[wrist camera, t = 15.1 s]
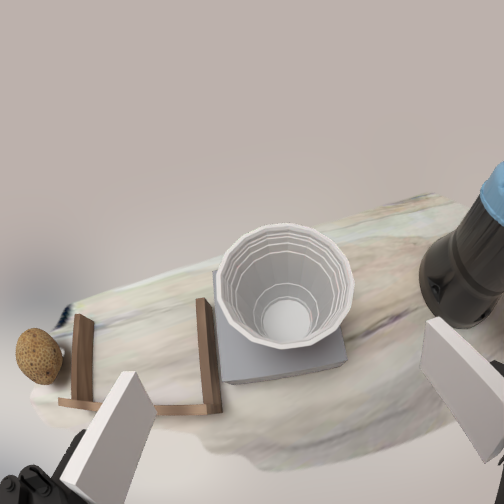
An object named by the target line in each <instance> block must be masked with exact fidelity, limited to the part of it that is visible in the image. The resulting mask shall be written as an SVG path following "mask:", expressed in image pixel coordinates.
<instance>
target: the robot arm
mask: <svg viewBox="0 0 504 504" xmlns="http://www.w3.org/2000/svg"><path fill="white" fill-rule="evenodd" d="M419 281H420V287H421V291H422V294H423V297H424V299H425V301H426V303H427V305H428V307H429V308H430V310H431V311H432V312H433V314H434V315H435V316H436V318H433V319H430V320H427V321H426V324H425V333H424V342H423V349H422V356H421V362H420V369H421V371H422V372H423V373H424V375H425V376H426V377H427V379H428V380H429V381H430V383H431V384H432V386H433V387H434V388H435V390H436V391H437V393H438V394H439V395H440V397H441V398H442V400H443V401H444V403H445V404H446V405H447V407H448V408H449V410H450V411H451V413H452V414H453V416H454V417H455V419H456V420H457V421H458V423H459V424H460V426H461V428H462V429H463V431H464V432H465V434H466V435H467V437H468V438H469V440H470V441H471V443H472V444H473V446H474V448H475V449H476V451H477V452H478V454H479V456H480V457H481V459H482V461H483V462H484V464H485V463H486V462H488V461H490V460H491V459H492V458H494V457H495V456H497V455H498V454H499V453H500V452H501V450H502V449H503V448H504V364H502V363H500V362H498V361H496V360H493V361H492V362H490V363H489V362H488V361H487V360H486V359H485V358H484V357H483V356H482V355H481V354H480V353H479V352H478V351H476V350H475V349H474V348H473V347H472V346H471V345H470V344H469V343H468V342H467V341H466V340H465V339H464V338H463V337H462V336H460V335H459V334H458V333H457V332H456V331H455V330H454V329H453V328H452V327H454V328H460V329H465V328H470V327H473V326H475V325H476V324H478V323H480V322H481V321H483V320H484V319H485V318H486V317H487V316H488V315H489V314H490V313H491V311H492V310H493V308H494V307H495V305H496V303H497V302H498V300H499V298H500V297H501V295H502V293H503V292H504V161H503V162H501V163H500V164H499V165H497V167H496V168H495V169H494V171H493V173H492V174H491V176H490V178H489V179H488V180H487V181H485V182H484V184H483V185H482V188H481V190H480V194H479V196H478V198H477V199H476V201H475V203H474V204H473V206H472V207H471V208H470V210H469V211H468V213H467V214H466V216H465V217H464V219H463V220H462V222H461V223H460V225H459V226H458V228H457V229H456V230H454V231H453V232H451V233H449V234H447V235H446V236H444V237H442V238H440V239H438V240H437V241H436V242H434V243H433V244H432V245H431V247H430V248H429V249H428V251H427V252H426V254H425V255H424V257H423V259H422V262H421V265H420V271H419ZM156 414H157V411H156V409H155V407H154V405H153V404H152V402H151V400H150V398H149V396H148V394H147V393H146V391H145V389H144V387H143V385H142V383H141V381H140V379H139V377H138V375H137V373H136V371H122V373H121V374H120V376H119V377H118V379H117V381H116V382H115V384H114V385H113V387H112V389H111V390H110V392H109V394H108V395H107V397H106V399H105V400H104V402H103V403H102V405H101V407H100V408H99V410H98V412H97V413H96V415H95V417H94V418H93V420H92V422H91V424H90V425H89V427H88V429H87V430H85V429H83V430H82V431H81V432H79V433H78V434H77V435H76V436H75V437H74V439H73V441H72V442H71V444H70V447H69V448H68V449H67V451H66V454H64V456H63V458H62V460H61V461H60V463H59V465H58V467H57V468H56V470H55V472H54V474H53V476H52V477H51V478H50V477H49V476H48V475H47V474H46V473H45V472H44V471H43V470H42V469H41V468H40V467H39V466H36V465H29V466H27V467H25V468H24V469H22V471H21V472H20V474H19V477H18V478H17V477H16V476H14V475H8V476H6V477H5V478H4V479H3V480H2V481H1V484H0V504H124V501H125V499H126V496H127V493H128V490H129V487H130V484H131V482H132V479H133V476H134V473H135V470H136V468H137V465H138V462H139V459H140V457H141V453H142V451H143V448H144V446H145V443H146V441H147V438H148V435H149V433H150V430H151V427H152V425H153V422H154V420H155V417H156ZM503 461H504V455H503V457H502V458H501V460H500V461H499V463H498V465H501V463H502V462H503ZM503 465H504V464H503ZM495 504H504V467H503V472H502V477H501V481H500V486H499V489H498V493H497V497H496V501H495Z"/></svg>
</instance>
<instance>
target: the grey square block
mask: <svg viewBox="0 0 504 504" xmlns="http://www.w3.org/2000/svg"><path fill="white" fill-rule="evenodd" d="M217 271H218V270H215V271H212V272H213V286H214V299H215V312H216V324H217V335H218V346H219V356H220V366H221V375H222V382H225V383H229V384H232V385H236V384H245V383H253V382H260V381H267V380H273V379H280V378H286V377H291V376H297V375H302V374H307V373H312V372H317V371H322V370H327V369H331V368H335V367H339V366H341V365H342V364H343V363H345V362H346V361H347V360H348V359H347V354H346V349H345V345H344V340H343V336H342V331H341V327H340V325H339V326H338V328H337V329H336V331H334V332H332V333H331V334H329V335H328V336H326V337H324V338H323V339H321V340H319V341H318V342H316V343H314V344H313V345H311V346H304V347H297V348H289V349H277V348H273V347H270V346H266V345H262V344H259V343H255V342H252V341H250V340H249V339H248V338H247V337H245V336H244V335H243V334H242V333H240V332H239V331H238V330H237V329H235V328H234V327H233V326H232V325H230V324H229V322H228V320H227V318H226V317H225V315H224V313H223V311H222V309H221V307H220V305H219V303H218V301H217V289H216V274H217Z"/></svg>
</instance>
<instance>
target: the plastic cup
mask: <svg viewBox="0 0 504 504" xmlns="http://www.w3.org/2000/svg"><path fill="white" fill-rule="evenodd" d="M354 286H355V282H354V278H353V275H352V271H351V267H350V264H349V260H348V259H347V257H346V256H345V255H344V254H343V252H342V251H341V250H340V248H339V247H338V246H337V245H336V243H335V242H334V241H333V240H331V239H330V238H328V237H326V236H325V235H323V234H322V233H320V232H318V231H317V230H315V229H313V228H310V227H306V226H301V225H297V224H292V223H281V224H272V225H264V226H262V227H259V228H257V229H255V230H253V231H251V232H248V233H246V234H244V235H242V236H241V237H240V238H239V239H238V240H237V241H236V242H235V243H234V244H233V245H232V246H231V247H230V248H229V249H228V250H227V251H226V252H225V254H224V257H223V259H222V261H221V264H220V266H219V269H218V271H217V274H216V289H217V301H218V303H219V305H220V307H221V309H222V311H223V313H224V315H225V317H226V318H227V320H228V322H229V324H230V325H232V326H233V327H234V328H235V329H237V330H238V331H239V332H240V333H242V334H243V335H244V336H245V337H247V338H248V339H249V340H250V341H252V342H255V343H259V344H262V345H266V346H270V347H273V348H277V349H289V348H297V347H304V346H311V345H313V344H314V343H316V342H318V341H319V340H321V339H323V338H324V337H326V336H328V335H329V334H331V333H332V332H334V331H336V329H337V328H338V326H339V325H340V324H341V322H342V321H343V319H344V318H345V316H346V315H347V313H348V312H349V310H350V309H351V304H352V298H353V292H354Z"/></svg>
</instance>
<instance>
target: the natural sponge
mask: <svg viewBox="0 0 504 504" xmlns="http://www.w3.org/2000/svg"><path fill="white" fill-rule="evenodd" d="M16 360H17V364H18V366H19V368H20V369H21V371H22V372H23V373H24V374H25V375H26V376H27V377H28V378H30V379H31V380H32V381H34V382H35V383H37V384H42V385H49V384H52V383H53V382H54V380H55V379H56V377H57V374H58V372H59V370H60V368H61V365H62V362H63V357H62V353H61V350H60V348H59V346H58V344H57V343H56V341H55V340H54V339H53V338H52V337H51V336H50V335H49V334H48V333H46V332H45V331H43V330H41V329H38V328H31V329H28V330H26V331H25V332H24V333H22V334H21V336H20V337H19V339H18V342H17V346H16Z"/></svg>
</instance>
